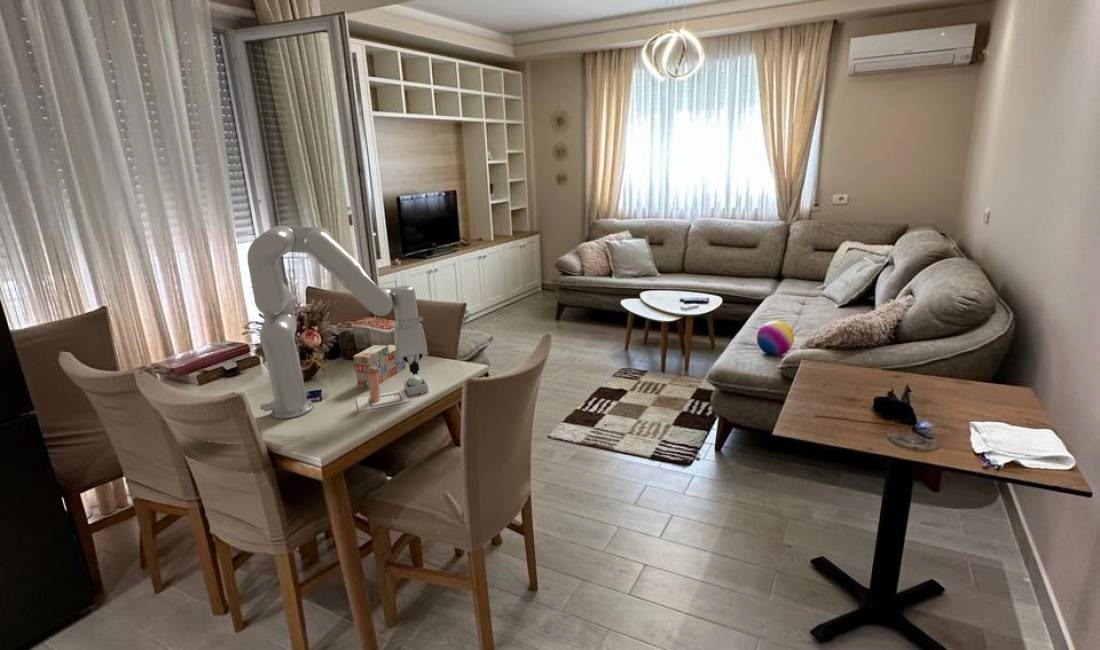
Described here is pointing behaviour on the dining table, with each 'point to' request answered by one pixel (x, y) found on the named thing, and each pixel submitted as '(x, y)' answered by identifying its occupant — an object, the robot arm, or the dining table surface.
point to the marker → (373, 384)
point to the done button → (415, 381)
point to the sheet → (382, 400)
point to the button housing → (416, 388)
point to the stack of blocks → (377, 363)
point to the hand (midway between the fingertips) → (415, 373)
